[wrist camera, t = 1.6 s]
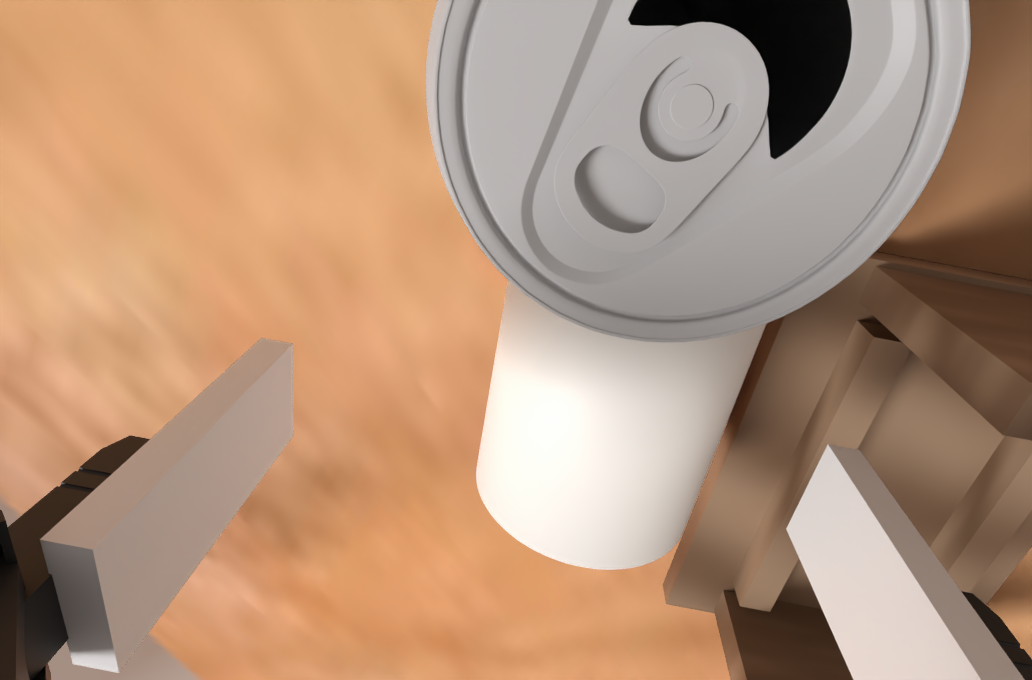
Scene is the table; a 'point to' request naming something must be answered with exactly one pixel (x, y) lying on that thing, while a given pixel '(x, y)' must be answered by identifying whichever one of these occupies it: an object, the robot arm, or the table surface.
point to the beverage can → (689, 147)
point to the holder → (866, 450)
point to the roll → (601, 434)
